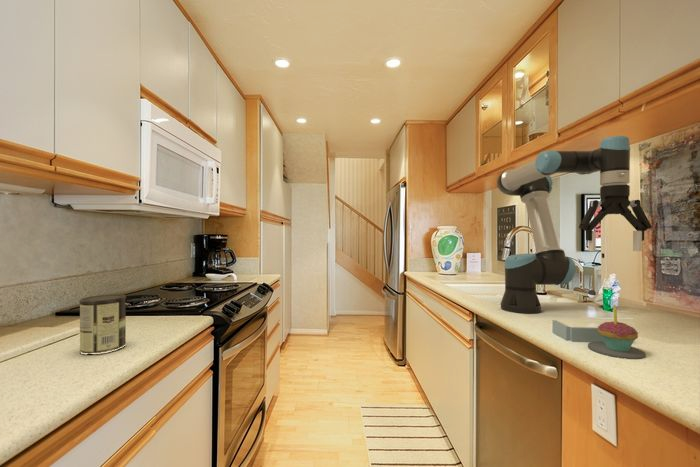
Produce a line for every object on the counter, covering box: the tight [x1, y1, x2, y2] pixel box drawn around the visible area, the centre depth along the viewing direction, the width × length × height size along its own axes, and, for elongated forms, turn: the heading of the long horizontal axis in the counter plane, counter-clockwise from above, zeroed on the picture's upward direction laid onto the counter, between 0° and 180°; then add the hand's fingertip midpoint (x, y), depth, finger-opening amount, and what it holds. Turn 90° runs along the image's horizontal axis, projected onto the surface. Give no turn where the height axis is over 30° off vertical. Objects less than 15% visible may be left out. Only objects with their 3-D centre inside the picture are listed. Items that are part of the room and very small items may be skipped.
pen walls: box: [551, 319, 605, 343], centre depth 101 cm, size 9×17×4 cm, turn 85°
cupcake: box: [597, 304, 639, 352], centre depth 90 cm, size 9×8×12 cm
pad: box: [587, 342, 646, 360], centre depth 90 cm, size 12×12×1 cm
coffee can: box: [79, 293, 127, 354], centre depth 91 cm, size 10×10×14 cm
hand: (614, 251), depth 108 cm, fingers open, 13 cm apart
